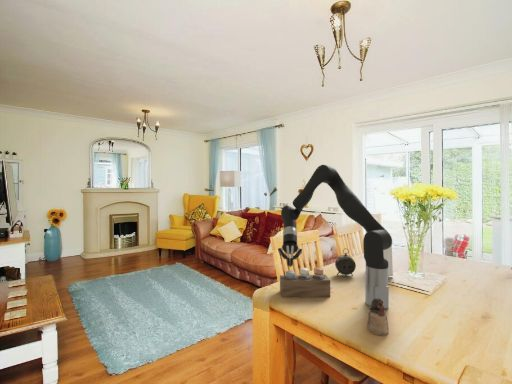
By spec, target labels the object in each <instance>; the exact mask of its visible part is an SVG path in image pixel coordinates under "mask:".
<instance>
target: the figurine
mask: <svg viewBox="0 0 512 384" xmlns="http://www.w3.org/2000/svg"><path fill="white" fill-rule="evenodd" d="M368 309H369V312H368V317H367V323H366V329H367V330H368V332H369V333H371V334H373V335H376V336H387V335H388V334H389V322H388V315H387V312H386V311H385V309H384V306H383V301H382V300H381V299H380V298H375V299H374V300H372V304H371V307H369V308H368Z"/></svg>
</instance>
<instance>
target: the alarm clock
mask: <svg viewBox="0 0 512 384" xmlns="http://www.w3.org/2000/svg"><path fill="white" fill-rule="evenodd" d="M344 250H347V252H344ZM342 253H343V254H342V255H341V254H340V255H339V256H338V257H336V260H335V262H334V263H335V264H334V265H335V268H336V269H337V271H338V272H337V273H336V275H337V276H338V275H339V274H341V275H344V276H345V278H347V277H348V275H351V276H354V274H353V273H354V271H355V269H356V266H357V265H356V261H355V260H354V259H353V257H352V256H350V255H348V254H349V253H350V251H349V249H348V248H346V247H345V248H344V249H343V250H342Z"/></svg>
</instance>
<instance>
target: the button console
mask: <svg viewBox="0 0 512 384" xmlns="http://www.w3.org/2000/svg"><path fill="white" fill-rule="evenodd" d="M279 291H280V295H281V298H282V297H300V298H330V297H331V279H330V278H329V276H328V275H327V274H323V275H315V274H309V275H307V276H303V275H300V274H295V278H293V279H288V278H286V274H285V275H283V274H282V275H281V274H280V275H279Z"/></svg>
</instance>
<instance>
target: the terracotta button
mask: <svg viewBox="0 0 512 384" xmlns="http://www.w3.org/2000/svg"><path fill="white" fill-rule="evenodd" d="M313 269H314V270H313V275H324V268H322V267H314V268H313Z"/></svg>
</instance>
